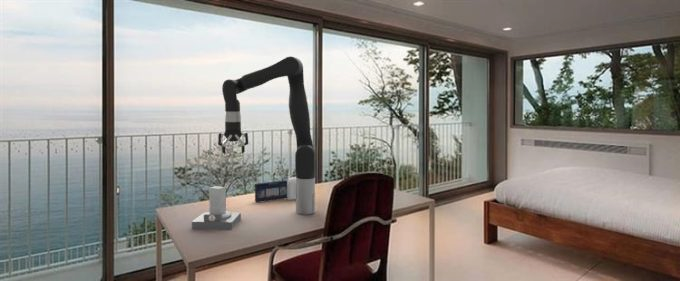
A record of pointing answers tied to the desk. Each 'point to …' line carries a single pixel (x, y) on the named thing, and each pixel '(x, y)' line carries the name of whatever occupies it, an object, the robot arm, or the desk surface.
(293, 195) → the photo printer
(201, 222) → the scale
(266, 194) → the vhs cassette tape
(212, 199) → the skincare box
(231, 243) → the desk surface
